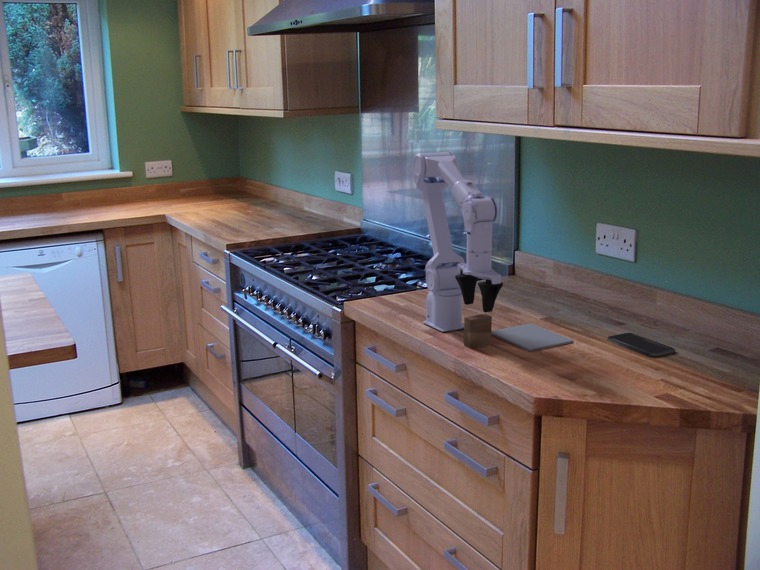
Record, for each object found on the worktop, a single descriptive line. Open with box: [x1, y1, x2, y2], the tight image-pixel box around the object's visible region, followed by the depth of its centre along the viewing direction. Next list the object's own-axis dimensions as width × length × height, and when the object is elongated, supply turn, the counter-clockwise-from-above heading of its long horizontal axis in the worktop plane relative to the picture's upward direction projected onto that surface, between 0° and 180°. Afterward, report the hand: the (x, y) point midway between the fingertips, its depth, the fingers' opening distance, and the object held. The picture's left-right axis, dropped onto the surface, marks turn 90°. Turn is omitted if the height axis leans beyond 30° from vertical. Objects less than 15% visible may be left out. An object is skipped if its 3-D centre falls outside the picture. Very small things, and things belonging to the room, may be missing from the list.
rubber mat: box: [491, 323, 574, 352], centre depth 198 cm, size 16×13×1 cm
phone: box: [607, 332, 676, 359], centre depth 191 cm, size 8×1×15 cm
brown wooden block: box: [463, 313, 493, 349], centre depth 193 cm, size 3×6×7 cm, turn 119°
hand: (478, 307), depth 191 cm, fingers open, 7 cm apart
